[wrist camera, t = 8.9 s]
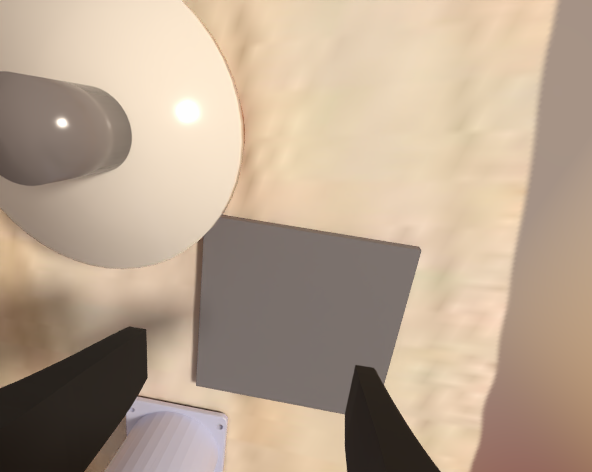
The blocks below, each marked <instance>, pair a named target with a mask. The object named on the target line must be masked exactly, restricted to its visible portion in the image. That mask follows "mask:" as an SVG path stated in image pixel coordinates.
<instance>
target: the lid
mask: <svg viewBox="0 0 592 472" xmlns="http://www.w3.org/2000/svg"><path fill="white" fill-rule="evenodd" d="M243 149H244V126H243V117H242V111H241V104H240V99H239V96H238V92H237V89H236V85H235V81H234V79H233V76H232V74H231V71H230V69H229V66H228V64H227V62H226V59H225V57H224V56H223V54H222V52H221V50H220V48H219V46H218V45H217V43H216V41H215V39H214V38H213V36H212V35H211V34H210V32H209V31H208V29H207V28H206V27H205V25H204V24H203V22H202V21H201V20H200V19H199V18H198V17H197V15H196V14H195V13H194V12H193V11H192V10H191V9H190V8H189V7H188V6H187V5H186V3H184V2H183V1H182V0H0V208H1V209H2V210H3V211H4V212H5V213H6V214H7V215H8V216H9V217H10V218H11V219H12V221H13V222H15V223H16V224H17V225H18V226H19V227H20V228H22V229H23V230H24V231H25V232H26V233H27V234H29V235H30V236H32V237H33V238H34V239H36V240H37V241H39V242H40V243H41V244H43V245H45V246H47V247H48V248H50V249H52V250H54V251H55V252H57V253H59V254H61V255H64V256H66V257H68V258H71V259H73V260H76V261H79V262H82V263H85V264H89V265H93V266H98V267H104V268H114V269H131V268H141V267H146V266H151V265H155V264H158V263H161V262H164V261H166V260H169V259H171V258H173V257H175V256H177V255H179V254H181V253H182V252H184V251H186V250H187V249H188V248H190V247H191V246H192V245H194V244H195V243H196V242H197V241H199V240H200V239H201V238H202V237H203V236H204V235H205V234H206V233H207V232H208V231H209V230H210V229H211V228H212V227H213V226H214V225H215V224H216V222H217V221H218V220H219V218H220V217H221V216H222V214H223V213H224V211H225V209H226V208H227V206H228V204H229V202H230V200H231V198H232V196H233V193H234V191H235V188H236V185H237V182H238V179H239V175H240V170H241V166H242V160H243Z"/></svg>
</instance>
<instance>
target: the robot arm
mask: <svg viewBox="0 0 592 472" xmlns="http://www.w3.org/2000/svg"><path fill="white" fill-rule="evenodd" d="M146 380H147V343H146V329H140V328H134V327H127V328H125V329H123V330H121V331H119V332H117V333H115V334H113V335H111V336H109V337H107V338H105V339H103V340H101V341H99V342H97V343H95V344H93V345H92V346H90V347H88V348H86V349H84V350H82V351H80V352H78V353H76V354H74V355H72V356H70V357H68V358H66V359H64V360H62V361H60V362H58V363H56V364H53V365H51V366H49V367H47V368H45V369H43V370H41V371H39V372H37V373H34V374H32V375H30V376H28V377H26V378H24V379H21V380H19V381H17V382H14V383H12V384H10V385H7V386H5V387H2V388H0V472H84V471H85V470H86V468H87V467H88V466H89V464H90V463H91V461H92V460H93V459H94V457H95V456H96V455H97V453H98V452H99V451H100V449H101V448H102V446H103V445H104V444H105V442H106V441H107V440H108V438H109V437H110V436H111V434H112V433H113V431H114V430H115V429H116V427H117V426H118V425H119V423H120V422H121V420H122V419H123V418H124V416H125V415H126V431H127V437H126V439H125V440H124V442H123V443H122V445H121V446H120V448H119V449H118V451H117V452H116V454H115V455H114V457H113V458H112V460H111V461H110V463H109V464H108V466H107V467H106V469H105V470H104V472H223V468H224V457H225V446H226V436H227V425H228V417H227V416H226V415H225V414H223V413H219V412H214V411H208V410H203V409H198V408H193V407H188V406H183V405H178V404H173V403H168V402H163V401H158V400H152V399H147V398H142V397H137V396H138V394H139V392H140V391H141V389H142V387H143V385H144V383H145V381H146ZM219 424H220V425H219ZM345 452H346V463H347V472H440V470H439V469H438V468H437V466H436V465H435V464H434V462H433V461H432V460H431V458H430V457H429V456H428V454H427V453H426V451H425V450H424V449H423V447H422V446H421V444H420V443H419V441H418V440H417V439H416V437H415V436H414V434H413V433H412V431H411V429H410V428H409V426H408V425H407V423H406V422H405V420H404V418H403V417H402V415H401V414H400V412H399V410H398V409H397V407H396V405H395V404H394V402H393V400H392V399H391V397H390V395H389V393H388V392H387V390H386V388H385V386H384V384H383V383H382V381H381V379H380V377H379V375H378V373H377V371H376V370H375V369H374V368H372V367H366V366H360V365H355V369H354V374H353V378H352V383H351V387H350V392H349V397H348V401H347V406H346V411H345Z"/></svg>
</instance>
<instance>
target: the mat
mask: <svg viewBox="0 0 592 472" xmlns="http://www.w3.org/2000/svg"><path fill="white" fill-rule="evenodd" d="M420 254H421V249H420V248H419V247H416V246H410V245H404V244H398V243H392V242H386V241H380V240H373V239H367V238H361V237H355V236H349V235H343V234H337V233H330V232H324V231H318V230H312V229H306V228H300V227H294V226H288V225H281V224H275V223H269V222H263V221H257V220H251V219H245V218H239V217H232V216H226V215H222V216H221V217H220V218H219V220H218V221H217V222H216V224H215V225H214V226H213V227H212V228H211V229H210V230H209V231H208V232H207V233H206V234H205V235H204V240H203V260H202V280H201V300H200V319H199V339H198V359H197V378H196V386H201V387H206V388H211V389H216V390H221V391H227V392H232V393H237V394H242V395H247V396H252V397H258V398H263V399H268V400H273V401H278V402H284V403H289V404H294V405H299V406H304V407H310V408H315V409H320V410H325V411H330V412H336V413H341V414H345V411H346V406H347V401H348V397H349V392H350V387H351V383H352V378H353V374H354V369H355V365H360V366H366V367H372V368H374V369H375V370H376V371H377V373H378V375H379V377H380V379H381V381H382V383H383V384H384V382H385V379H386V375H387V372H388V368H389V365H390V361H391V357H392V354H393V350H394V347H395V343H396V339H397V336H398V332H399V329H400V325H401V322H402V318H403V314H404V311H405V307H406V304H407V300H408V297H409V293H410V289H411V286H412V282H413V279H414V275H415V272H416V268H417V264H418V261H419V257H420Z"/></svg>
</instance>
